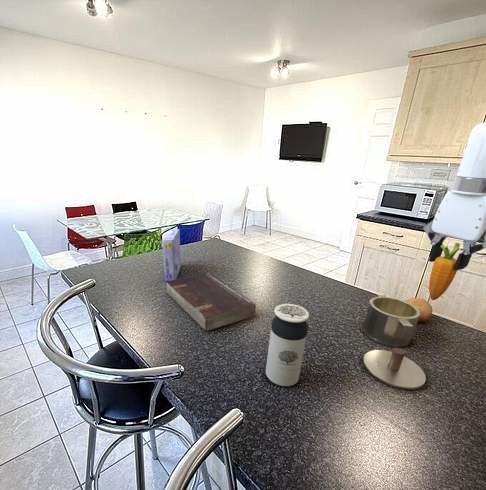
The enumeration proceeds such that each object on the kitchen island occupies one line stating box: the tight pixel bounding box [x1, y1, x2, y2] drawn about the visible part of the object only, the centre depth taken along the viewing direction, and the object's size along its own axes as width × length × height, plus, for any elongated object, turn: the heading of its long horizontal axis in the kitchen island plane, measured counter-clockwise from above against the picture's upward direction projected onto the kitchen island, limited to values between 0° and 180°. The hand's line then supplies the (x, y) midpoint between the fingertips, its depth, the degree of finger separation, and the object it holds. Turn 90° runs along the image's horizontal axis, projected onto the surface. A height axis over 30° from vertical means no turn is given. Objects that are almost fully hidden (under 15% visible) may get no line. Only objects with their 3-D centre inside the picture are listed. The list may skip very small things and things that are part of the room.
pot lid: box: [362, 347, 427, 390], centre depth 73 cm, size 14×14×6 cm
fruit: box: [404, 297, 433, 323], centre depth 96 cm, size 8×8×8 cm
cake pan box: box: [161, 228, 182, 281], centre depth 125 cm, size 19×5×18 cm, turn 178°
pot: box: [362, 294, 420, 348], centre depth 87 cm, size 13×18×10 cm
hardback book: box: [165, 272, 257, 332], centre depth 102 cm, size 29×19×5 cm, turn 32°
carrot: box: [428, 242, 461, 301], centre depth 71 cm, size 5×5×15 cm
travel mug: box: [265, 303, 310, 387], centre depth 68 cm, size 8×8×18 cm
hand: (446, 264), depth 70 cm, fingers closed on carrot, 4 cm apart
